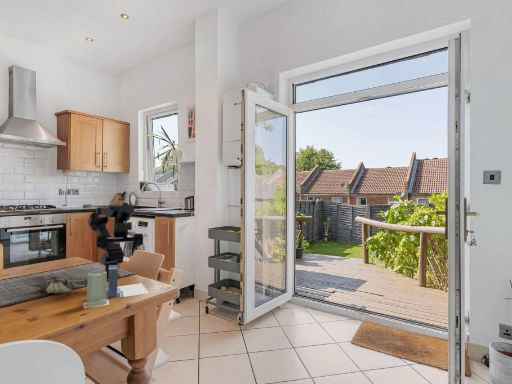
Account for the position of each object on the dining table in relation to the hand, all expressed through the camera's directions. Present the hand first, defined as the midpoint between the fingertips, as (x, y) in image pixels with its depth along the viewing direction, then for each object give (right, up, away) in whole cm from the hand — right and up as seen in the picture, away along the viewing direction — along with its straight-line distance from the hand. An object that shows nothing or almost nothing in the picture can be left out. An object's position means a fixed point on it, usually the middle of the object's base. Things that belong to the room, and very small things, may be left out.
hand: (120, 256), depth 126 cm
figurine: (-23, -13, -6) cm, 27 cm away
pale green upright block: (0, -13, -20) cm, 23 cm away
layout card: (+3, -14, -9) cm, 17 cm away
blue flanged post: (+2, -13, -10) cm, 17 cm away
